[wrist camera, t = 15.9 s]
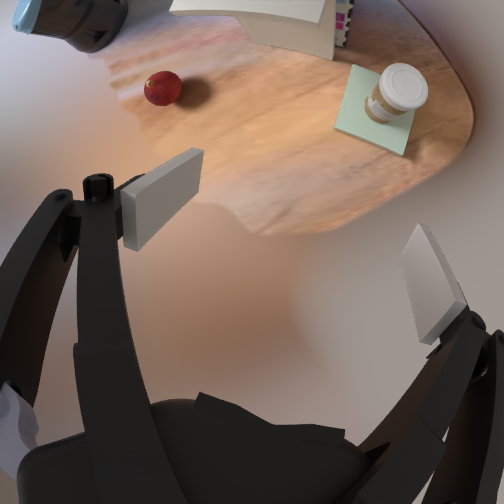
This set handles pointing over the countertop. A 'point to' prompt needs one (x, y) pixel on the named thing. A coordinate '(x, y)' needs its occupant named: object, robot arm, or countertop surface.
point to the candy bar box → (343, 21)
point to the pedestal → (358, 122)
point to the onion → (163, 88)
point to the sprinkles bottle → (396, 93)
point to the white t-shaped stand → (275, 21)
